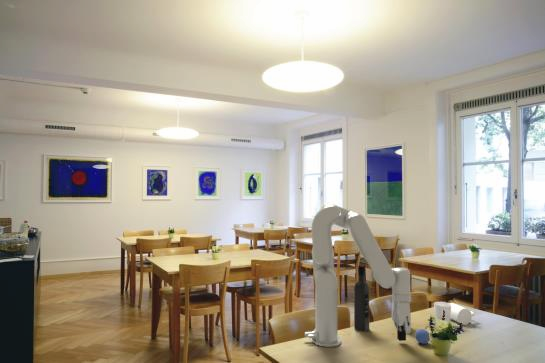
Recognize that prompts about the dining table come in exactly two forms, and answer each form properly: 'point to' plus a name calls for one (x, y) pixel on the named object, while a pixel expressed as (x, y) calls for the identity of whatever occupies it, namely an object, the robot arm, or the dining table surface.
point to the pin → (409, 329)
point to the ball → (422, 336)
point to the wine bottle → (361, 302)
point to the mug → (461, 314)
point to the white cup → (439, 310)
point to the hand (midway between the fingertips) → (401, 339)
